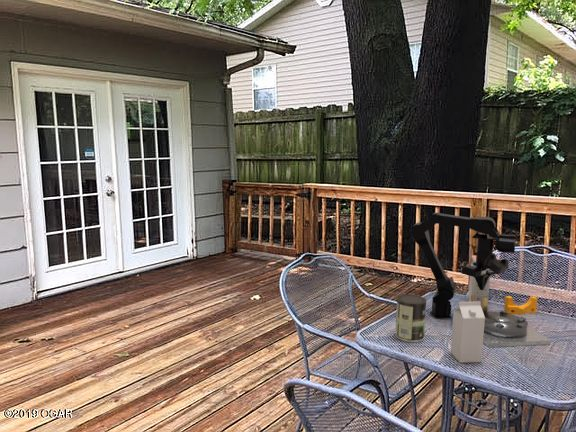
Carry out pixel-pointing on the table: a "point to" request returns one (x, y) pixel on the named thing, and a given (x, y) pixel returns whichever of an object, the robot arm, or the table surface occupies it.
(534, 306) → the pipe clamp
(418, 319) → the coffee can
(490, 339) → the base plate
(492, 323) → the crank wheel
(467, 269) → the robot arm
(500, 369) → the table surface
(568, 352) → the table surface
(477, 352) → the milk carton
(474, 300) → the cracker box
